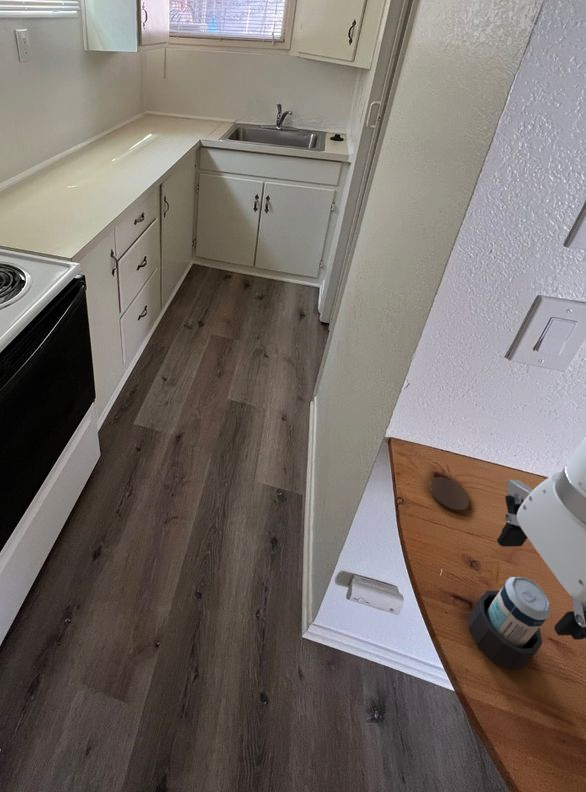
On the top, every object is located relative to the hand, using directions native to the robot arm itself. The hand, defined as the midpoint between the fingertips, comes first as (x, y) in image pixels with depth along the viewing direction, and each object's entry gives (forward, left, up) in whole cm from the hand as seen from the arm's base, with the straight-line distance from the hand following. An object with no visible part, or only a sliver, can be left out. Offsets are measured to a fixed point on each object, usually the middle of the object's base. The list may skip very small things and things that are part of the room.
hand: (535, 584), depth 54 cm
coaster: (-6, -21, -14) cm, 26 cm away
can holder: (0, 0, -14) cm, 14 cm away
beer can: (0, 0, -15) cm, 15 cm away
